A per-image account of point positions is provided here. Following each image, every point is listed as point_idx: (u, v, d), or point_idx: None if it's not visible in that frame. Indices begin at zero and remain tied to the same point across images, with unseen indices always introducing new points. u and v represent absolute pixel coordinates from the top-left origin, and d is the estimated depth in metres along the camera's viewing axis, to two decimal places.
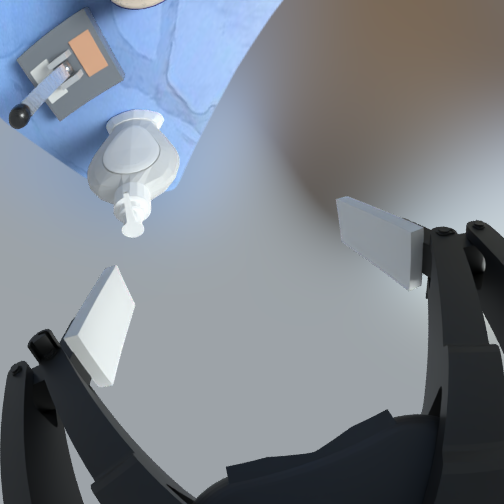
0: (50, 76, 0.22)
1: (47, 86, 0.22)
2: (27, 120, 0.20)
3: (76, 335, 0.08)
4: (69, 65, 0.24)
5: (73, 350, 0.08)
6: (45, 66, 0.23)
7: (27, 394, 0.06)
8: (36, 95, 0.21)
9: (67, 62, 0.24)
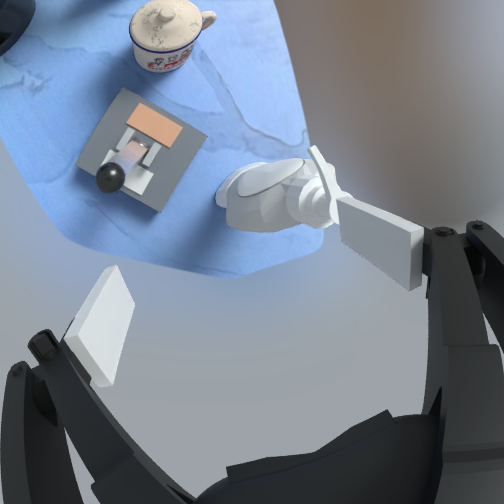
0: (126, 147, 0.28)
1: (129, 154, 0.27)
2: (123, 175, 0.23)
3: (76, 335, 0.08)
4: (141, 141, 0.31)
5: (73, 350, 0.08)
6: None
7: (27, 394, 0.06)
8: (121, 159, 0.25)
9: None
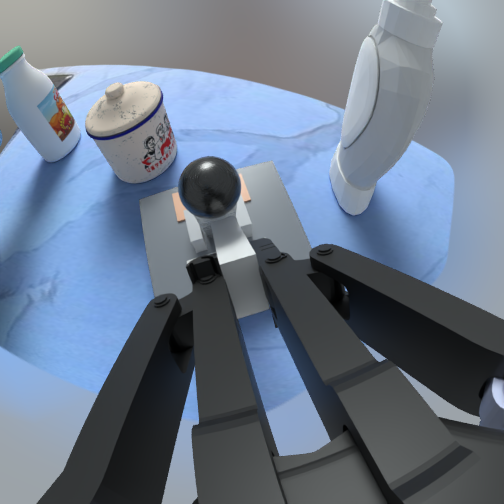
0: None
1: None
2: (226, 161, 0.13)
3: (235, 260, 0.11)
4: None
5: (225, 277, 0.11)
6: None
7: (164, 334, 0.08)
8: None
9: None
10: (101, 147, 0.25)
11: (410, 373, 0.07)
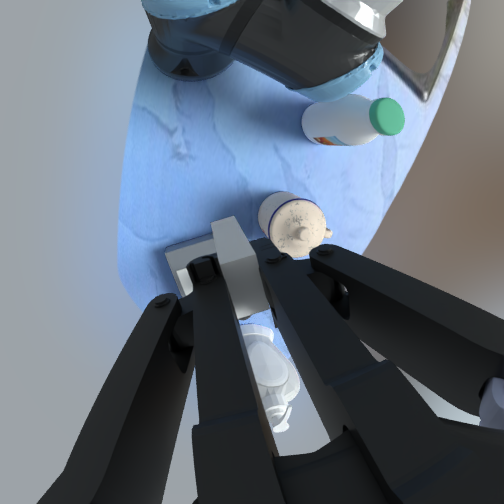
0: None
1: None
2: None
3: (235, 260, 0.11)
4: None
5: (226, 277, 0.11)
6: None
7: (164, 334, 0.08)
8: None
9: None
10: (271, 211, 0.41)
11: (410, 373, 0.07)
